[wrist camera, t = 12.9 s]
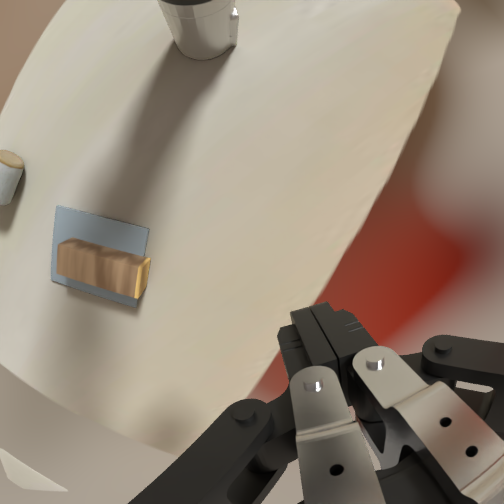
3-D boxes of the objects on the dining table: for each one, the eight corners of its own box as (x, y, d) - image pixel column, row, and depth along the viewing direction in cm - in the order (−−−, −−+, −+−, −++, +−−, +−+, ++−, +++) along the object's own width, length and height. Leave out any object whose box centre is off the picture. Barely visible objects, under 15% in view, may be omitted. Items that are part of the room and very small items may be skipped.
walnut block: (142, 268, 40) (57, 244, 38) (138, 298, 41) (56, 273, 39) (150, 258, 45) (72, 237, 43) (146, 286, 46) (70, 264, 44)
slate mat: (149, 228, 44) (148, 229, 44) (136, 306, 48) (135, 307, 47) (58, 205, 42) (56, 205, 41) (52, 278, 45) (50, 279, 45)
